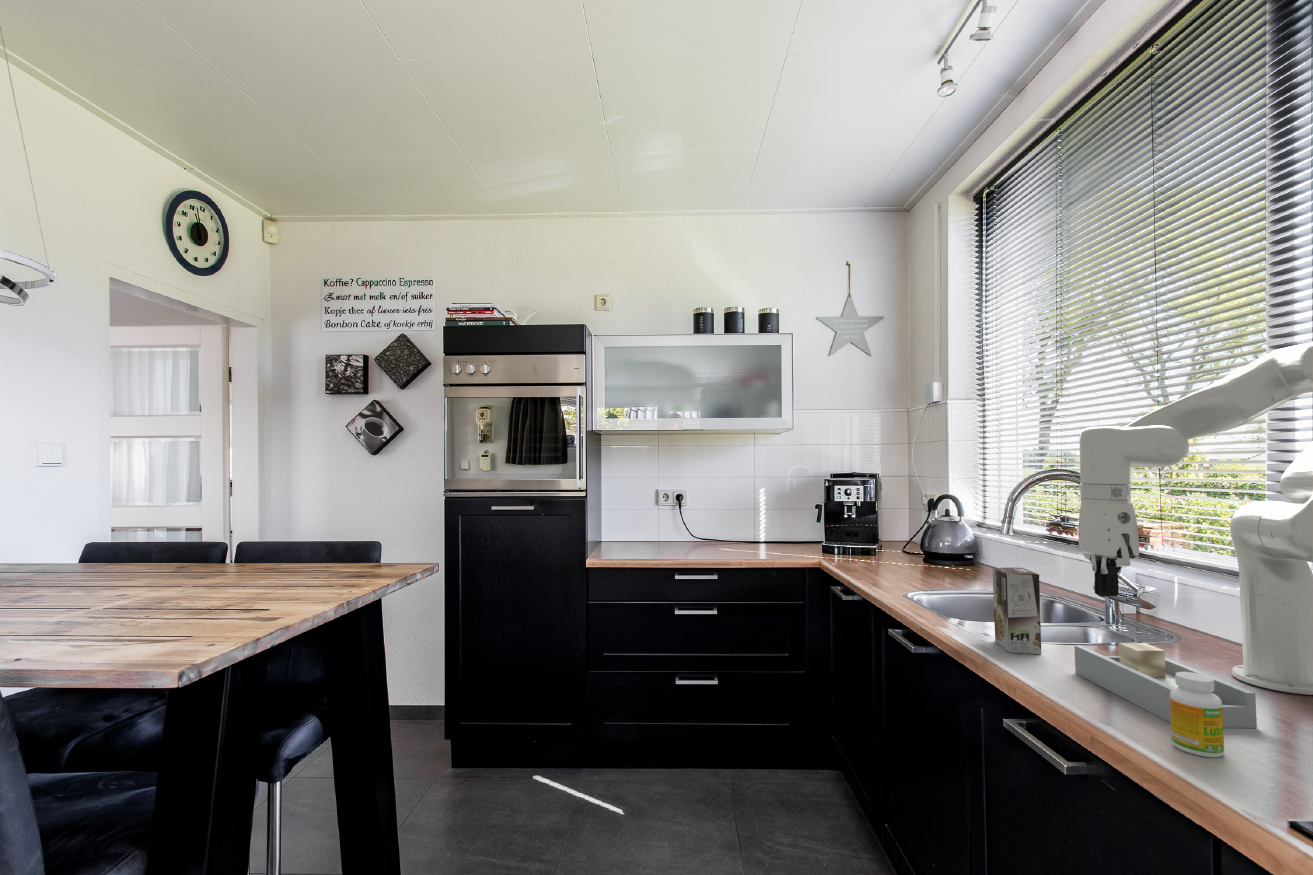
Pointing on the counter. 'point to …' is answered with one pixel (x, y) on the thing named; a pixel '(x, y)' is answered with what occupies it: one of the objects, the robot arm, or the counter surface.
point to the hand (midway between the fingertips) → (1106, 594)
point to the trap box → (1162, 687)
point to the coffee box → (1017, 610)
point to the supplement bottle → (1196, 716)
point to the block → (1143, 658)
